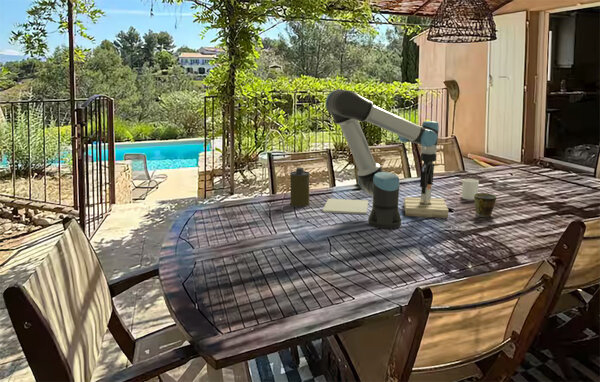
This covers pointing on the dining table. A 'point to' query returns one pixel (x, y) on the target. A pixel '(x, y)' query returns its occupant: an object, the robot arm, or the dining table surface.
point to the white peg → (427, 202)
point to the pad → (346, 206)
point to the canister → (299, 188)
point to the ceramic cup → (484, 204)
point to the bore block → (425, 208)
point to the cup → (469, 188)
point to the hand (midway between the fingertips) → (425, 198)
